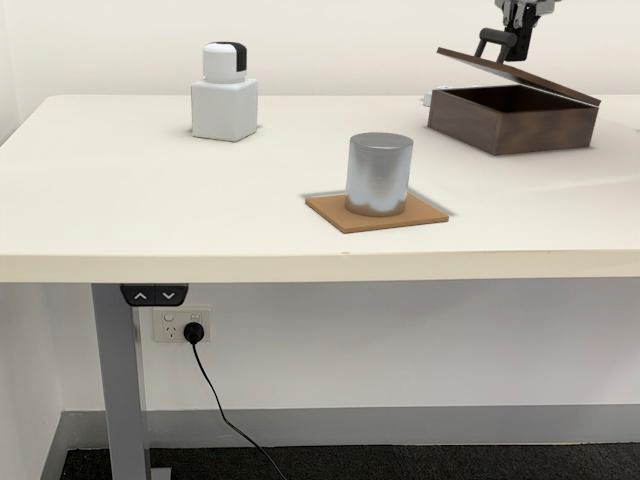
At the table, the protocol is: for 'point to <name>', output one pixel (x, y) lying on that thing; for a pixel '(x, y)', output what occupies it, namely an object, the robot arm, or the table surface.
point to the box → (512, 119)
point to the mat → (353, 222)
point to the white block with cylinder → (224, 94)
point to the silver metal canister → (378, 174)
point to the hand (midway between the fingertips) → (512, 60)
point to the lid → (510, 71)
